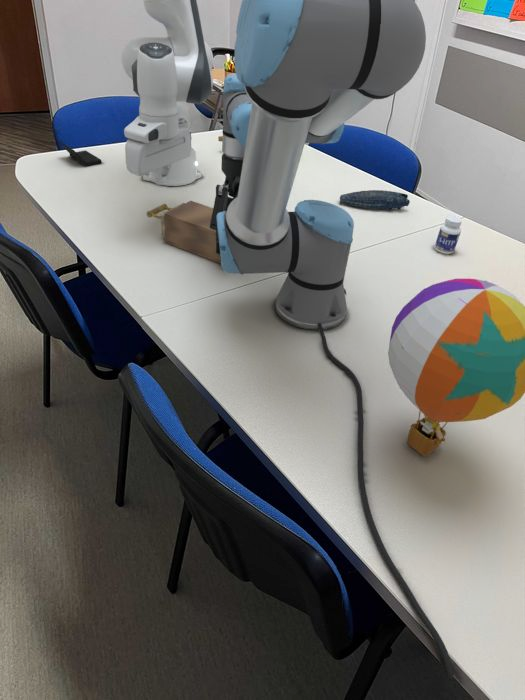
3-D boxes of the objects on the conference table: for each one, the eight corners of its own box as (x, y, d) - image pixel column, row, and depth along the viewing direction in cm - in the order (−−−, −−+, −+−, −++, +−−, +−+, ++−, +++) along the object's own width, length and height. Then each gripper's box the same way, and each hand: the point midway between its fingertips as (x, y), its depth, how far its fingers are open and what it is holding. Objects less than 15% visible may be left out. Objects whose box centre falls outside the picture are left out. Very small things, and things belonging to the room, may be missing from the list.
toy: (336, 437, 84) (375, 278, 66) (409, 388, 95) (460, 239, 76) (438, 521, 73) (519, 358, 55) (507, 455, 84) (595, 300, 65)
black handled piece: (106, 156, 172) (85, 134, 163) (94, 173, 170) (73, 152, 162) (85, 152, 178) (64, 130, 170) (74, 169, 177) (52, 148, 168)
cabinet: (165, 242, 132) (164, 213, 127) (191, 228, 139) (190, 200, 134) (233, 268, 124) (234, 238, 119) (256, 252, 131) (258, 223, 127)
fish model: (408, 214, 157) (412, 198, 153) (339, 207, 158) (341, 191, 154) (406, 206, 162) (410, 190, 159) (339, 199, 163) (341, 183, 160)
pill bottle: (433, 251, 139) (442, 220, 133) (435, 243, 143) (444, 213, 137) (453, 256, 138) (464, 225, 132) (454, 247, 142) (465, 217, 136)
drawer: (143, 229, 135) (142, 207, 131) (167, 218, 141) (166, 196, 137) (224, 260, 125) (225, 237, 121) (245, 246, 132) (247, 224, 128)
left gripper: (177, 113, 129) (178, 168, 138) (118, 131, 115) (124, 191, 124) (197, 119, 127) (197, 174, 135) (140, 137, 113) (144, 198, 121)
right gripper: (252, 138, 123) (247, 225, 137) (192, 163, 107) (193, 258, 121) (280, 146, 120) (271, 233, 134) (222, 172, 104) (220, 268, 118)
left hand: (162, 183), depth 129 cm, fingers closed
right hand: (234, 245), depth 127 cm, fingers closed on cabinet, 10 cm apart
